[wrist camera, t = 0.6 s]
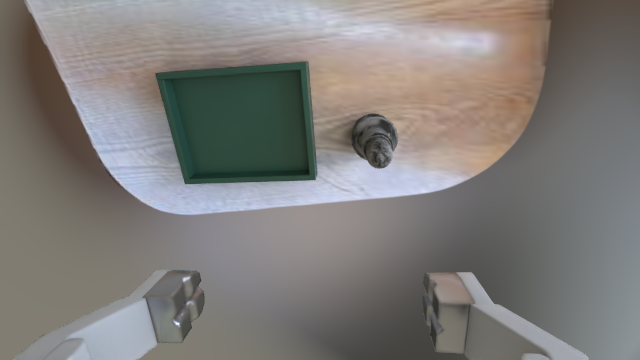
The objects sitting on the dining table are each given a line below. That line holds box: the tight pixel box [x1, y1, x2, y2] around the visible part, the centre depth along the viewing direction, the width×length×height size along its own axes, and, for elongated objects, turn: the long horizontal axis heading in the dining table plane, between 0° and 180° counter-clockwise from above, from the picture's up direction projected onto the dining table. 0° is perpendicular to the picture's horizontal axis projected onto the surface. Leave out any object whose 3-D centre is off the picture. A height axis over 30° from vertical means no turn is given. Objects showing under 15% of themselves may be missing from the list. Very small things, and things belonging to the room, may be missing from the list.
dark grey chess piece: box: [352, 114, 398, 168], centre depth 36 cm, size 6×6×12 cm
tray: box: [156, 62, 317, 184], centre depth 41 cm, size 16×20×3 cm
